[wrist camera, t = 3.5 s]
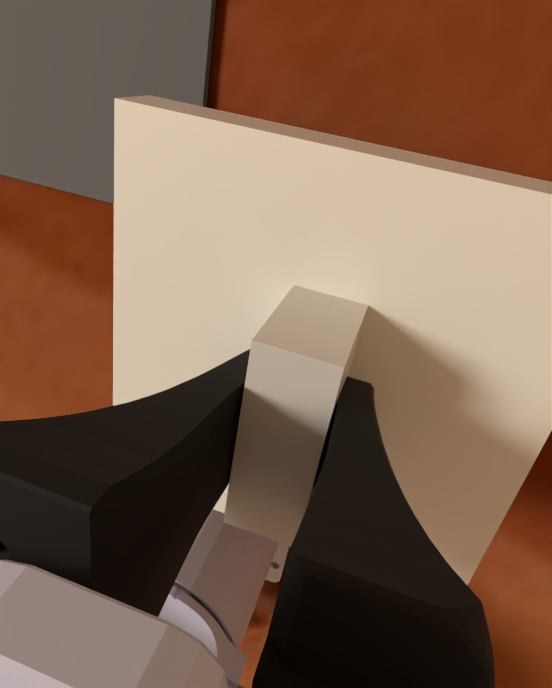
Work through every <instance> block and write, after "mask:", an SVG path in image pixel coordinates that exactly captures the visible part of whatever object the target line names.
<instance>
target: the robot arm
mask: <svg viewBox="0 0 552 688" xmlns="http://www.w3.org/2000/svg"><path fill="white" fill-rule="evenodd" d="M249 354H250V349H249V350H247V351H245V352H243V353H241V354H239V355H237V356H235V357H234V358H232V359H230V360H228V361H226V362H224V363H222V364H221V365H219V366H217V367H215V368H213V369H211V370H209V371H207V372H205V373H203V374H201V375H199V376H197V377H195V378H192V379H190V380H188V381H186V382H183V383H181V384H179V385H176V386H174V387H172V388H169V389H167V390H164V391H162V392H159V393H156V394H153V395H150V396H147V397H144V398H141V399H138V400H135V401H131V402H128V403H123V404H119V405H115V406H111V407H107V408H102V409H98V410H94V411H89V412H83V413H77V414H72V415H65V416H57V417H50V418H41V419H29V420H15V421H1V422H0V688H245V687H243V686H241V685H239V684H238V683H239V681H240V678H241V675H242V672H243V669H244V666H245V664H246V661H247V658H248V657H247V655H246V654H245V653H243V652H242V651H240V650H239V648H240V646H241V643H242V640H243V638H244V635H245V632H246V630H247V627H248V624H249V622H250V619H251V616H252V614H253V611H254V608H255V606H256V603H257V600H258V598H259V595H260V592H261V590H262V587H263V584H264V582H265V580H268V581H270V582H278V581H280V579H281V576H282V572H283V568H284V565H285V561H286V557H287V553H288V549H289V546H287V545H284V544H281V543H278V542H276V541H273V540H270V539H268V538H265V537H262V536H259V535H257V534H254V533H251V532H249V531H246V530H243V529H241V528H238V527H235V526H232V525H230V524H227V523H224V522H223V519H224V513H222V512H219V511H217V510H214V509H213V508H214V506H215V505H216V503H217V502H218V500H219V499H220V497H221V495H222V494H223V492H224V491H225V489H226V488H227V486H228V484H229V481H230V475H231V468H232V462H233V456H234V449H235V443H236V437H237V430H238V424H239V418H240V411H241V405H242V399H243V392H244V386H245V380H246V373H247V367H248V361H249ZM275 562H276V563H275ZM494 680H495V669H494V658H493V651H492V646H491V641H490V636H489V630H488V626H487V622H486V618H485V613H484V609H483V605H482V603H481V601H480V600H479V598H478V597H477V596H476V595H475V594H474V593H473V592H472V590H471V589H470V588H469V587H468V586H467V585H466V584H465V582H464V581H463V580H462V579H461V578H460V577H459V576H458V574H457V573H456V572H455V571H454V570H453V569H452V568H451V566H450V565H449V564H448V563H447V561H446V560H445V559H444V557H443V556H442V555H441V553H440V552H439V551H438V549H437V548H436V547H435V545H434V544H433V543H432V541H431V540H430V538H429V537H428V535H427V534H426V532H425V530H424V529H423V527H422V526H421V524H420V523H419V521H418V519H417V518H416V516H415V515H414V513H413V511H412V509H411V507H410V505H409V504H408V502H407V500H406V498H405V496H404V494H403V492H402V490H401V488H400V486H399V483H398V481H397V479H396V477H395V474H394V472H393V469H392V467H391V464H390V461H389V459H388V456H387V453H386V450H385V447H384V444H383V440H382V436H381V433H380V429H379V425H378V421H377V416H376V410H375V403H374V388H373V386H372V384H371V383H368V382H365V381H361V380H358V379H355V378H351V377H348V376H347V378H346V380H345V382H344V385H343V387H342V390H341V392H340V395H339V398H338V402H337V406H336V409H335V413H334V417H333V420H332V424H331V428H330V431H329V435H328V439H327V443H326V446H325V450H324V454H323V457H322V461H321V465H320V468H319V472H318V476H317V479H316V483H315V487H314V491H313V493H312V496H311V498H310V501H309V504H308V506H307V509H306V511H305V514H304V516H303V519H302V521H301V524H300V526H299V528H298V531H297V533H296V536H295V538H294V541H293V543H292V545H291V547H290V551H289V555H288V559H287V563H286V566H285V570H284V574H283V578H282V582H281V586H280V590H279V593H278V597H277V601H276V605H275V609H274V613H273V617H272V620H271V624H270V628H269V632H268V636H267V639H266V642H265V645H264V648H263V651H262V654H261V657H260V660H259V663H258V666H257V669H256V672H255V675H254V678H253V682H252V683H253V685H252V688H495V682H494Z"/></svg>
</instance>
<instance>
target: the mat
mask: <svg viewBox="0 0 552 688" xmlns="http://www.w3.org/2000/svg"><path fill="white" fill-rule="evenodd" d="M215 9H216V0H0V174H1V175H5V176H8V177H12V178H16V179H20V180H24V181H28V182H32V183H35V184H39V185H43V186H47V187H51V188H55V189H59V190H62V191H66V192H70V193H74V194H78V195H82V196H86V197H89V198H93V199H97V200H101V201H105V202H109V203H113V204H114V98H121V97H134V96H147V95H151V96H156V97H161V98H165V99H170V100H174V101H179V102H184V103H188V104H193V105H198V106H202V107H207V97H208V86H209V75H210V64H211V53H212V42H213V31H214V20H215Z"/></svg>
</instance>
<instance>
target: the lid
mask: <svg viewBox="0 0 552 688" xmlns="http://www.w3.org/2000/svg"><path fill="white" fill-rule="evenodd" d="M249 349H250V354H249V361H248V367H247V373H246V380H245V386H244V392H243V399H242V405H241V411H240V418H239V424H238V430H237V437H236V443H235V449H234V456H233V462H232V468H231V475H230V481H229V484H228V486H227V488H226V489H225V491H224V492H223V494H222V495H221V497H220V499H219V500H218V502H217V503H216V505H215V506H214V508H213V509H214V510H217V511H219V512H222V513H224V519H223V522H224V523H227V524H230V525H232V526H235V527H238V528H241V529H243V530H246V531H249V532H251V533H254V534H257V535H259V536H262V537H265V538H268V539H270V540H273V541H276V542H278V543H281V544H284V545H287V546H289V547H291V545H292V543H293V541H294V538H295V536H296V533H297V531H298V528H299V526H300V524H301V521H302V519H303V516H304V514H305V511H306V509H307V506H308V504H309V501H310V498H311V496H312V493H313V491H314V487H315V483H316V479H317V476H318V472H319V468H320V465H321V461H322V457H323V454H324V450H325V446H326V443H327V439H328V435H329V431H330V428H331V424H332V420H333V417H334V413H335V409H336V406H337V402H338V398H339V395H340V392H341V390H342V387H343V385H344V382H345V380H346V378H347V376H348V377H351V378H355V379H358V380H361V381H365V382H368V383H371V384H372V386H373V388H374V403H375V410H376V416H377V421H378V425H379V429H380V433H381V436H382V440H383V444H384V447H385V450H386V453H387V456H388V459H389V461H390V464H391V467H392V469H393V472H394V474H395V477H396V479H397V481H398V483H399V486H400V488H401V490H402V492H403V494H404V496H405V498H406V500H407V502H408V504H409V505H410V507H411V509H412V511H413V513H414V515H415V516H416V518H417V519H418V521H419V523H420V524H421V526H422V527H423V529H424V530H425V532H426V534H427V535H428V537H429V538H430V540H431V541H432V543H433V544H434V545H435V547H436V548H437V549H438V551H439V552H440V553H441V555H442V556H443V557H444V559H445V560H446V561H447V563H448V564H449V565H450V566H451V568H452V569H453V570H454V571H455V572H456V573H457V574H458V576H459V577H460V578H461V579H462V580H463V581H464V582H465V584H466V585H468V583H469V581H470V580H471V578H472V576H473V574H474V572H475V570H476V569H477V567H478V565H479V563H480V561H481V559H482V558H483V556H484V554H485V552H486V550H487V548H488V547H489V545H490V543H491V541H492V539H493V537H494V535H495V534H496V532H497V530H498V528H499V526H500V524H501V523H502V521H503V519H504V517H505V515H506V513H507V512H508V510H509V508H510V506H511V504H512V502H513V501H514V499H515V497H516V495H517V493H518V491H519V490H520V488H521V486H522V484H523V482H524V480H525V479H526V477H527V475H528V473H529V471H530V469H531V468H532V466H533V464H534V462H535V460H536V458H537V456H538V455H539V453H540V451H541V449H542V447H543V445H544V444H545V442H546V440H547V438H548V436H549V434H550V433H551V431H552V182H549V181H544V180H540V179H535V178H530V177H526V176H521V175H516V174H512V173H507V172H503V171H498V170H493V169H489V168H484V167H480V166H475V165H470V164H466V163H461V162H456V161H452V160H447V159H443V158H438V157H433V156H429V155H424V154H419V153H415V152H410V151H406V150H401V149H396V148H392V147H387V146H382V145H378V144H373V143H369V142H364V141H359V140H355V139H350V138H345V137H341V136H336V135H332V134H327V133H322V132H318V131H313V130H308V129H304V128H299V127H295V126H290V125H285V124H281V123H276V122H272V121H267V120H262V119H258V118H253V117H248V116H244V115H239V114H235V113H230V112H225V111H221V110H216V109H211V108H207V107H202V106H198V105H193V104H188V103H184V102H179V101H174V100H170V99H165V98H161V97H156V96H151V95H147V96H134V97H121V98H114V299H113V406H115V405H119V404H123V403H128V402H131V401H135V400H138V399H141V398H144V397H147V396H150V395H153V394H156V393H159V392H162V391H164V390H167V389H169V388H172V387H174V386H176V385H179V384H181V383H183V382H186V381H188V380H190V379H192V378H195V377H197V376H199V375H201V374H203V373H205V372H207V371H209V370H211V369H213V368H215V367H217V366H219V365H221V364H222V363H224V362H226V361H228V360H230V359H232V358H234V357H235V356H237V355H239V354H241V353H243V352H245V351H247V350H249Z"/></svg>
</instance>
